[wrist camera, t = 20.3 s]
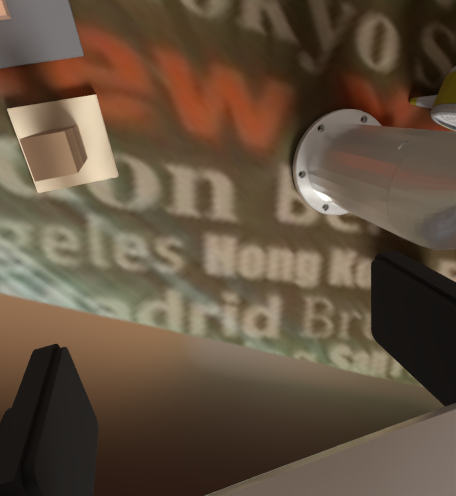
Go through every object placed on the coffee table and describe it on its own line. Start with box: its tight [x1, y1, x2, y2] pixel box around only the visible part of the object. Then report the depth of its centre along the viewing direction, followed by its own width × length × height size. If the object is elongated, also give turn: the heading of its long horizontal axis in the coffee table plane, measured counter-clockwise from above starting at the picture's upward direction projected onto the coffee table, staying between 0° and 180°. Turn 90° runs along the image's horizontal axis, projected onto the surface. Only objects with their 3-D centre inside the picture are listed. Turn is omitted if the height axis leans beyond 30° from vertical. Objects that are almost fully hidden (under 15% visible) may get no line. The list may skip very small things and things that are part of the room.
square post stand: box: [7, 95, 118, 193], centre depth 33 cm, size 8×8×10 cm
